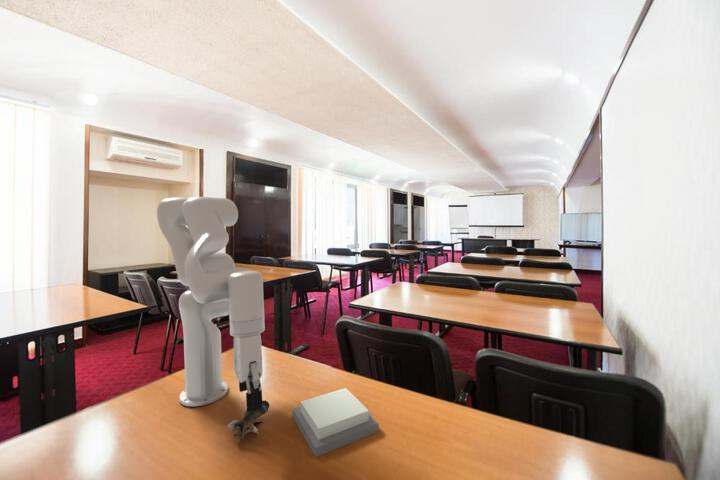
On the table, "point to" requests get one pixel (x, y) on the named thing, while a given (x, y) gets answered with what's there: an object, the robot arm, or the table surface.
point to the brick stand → (333, 421)
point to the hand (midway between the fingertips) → (250, 398)
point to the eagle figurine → (249, 421)
